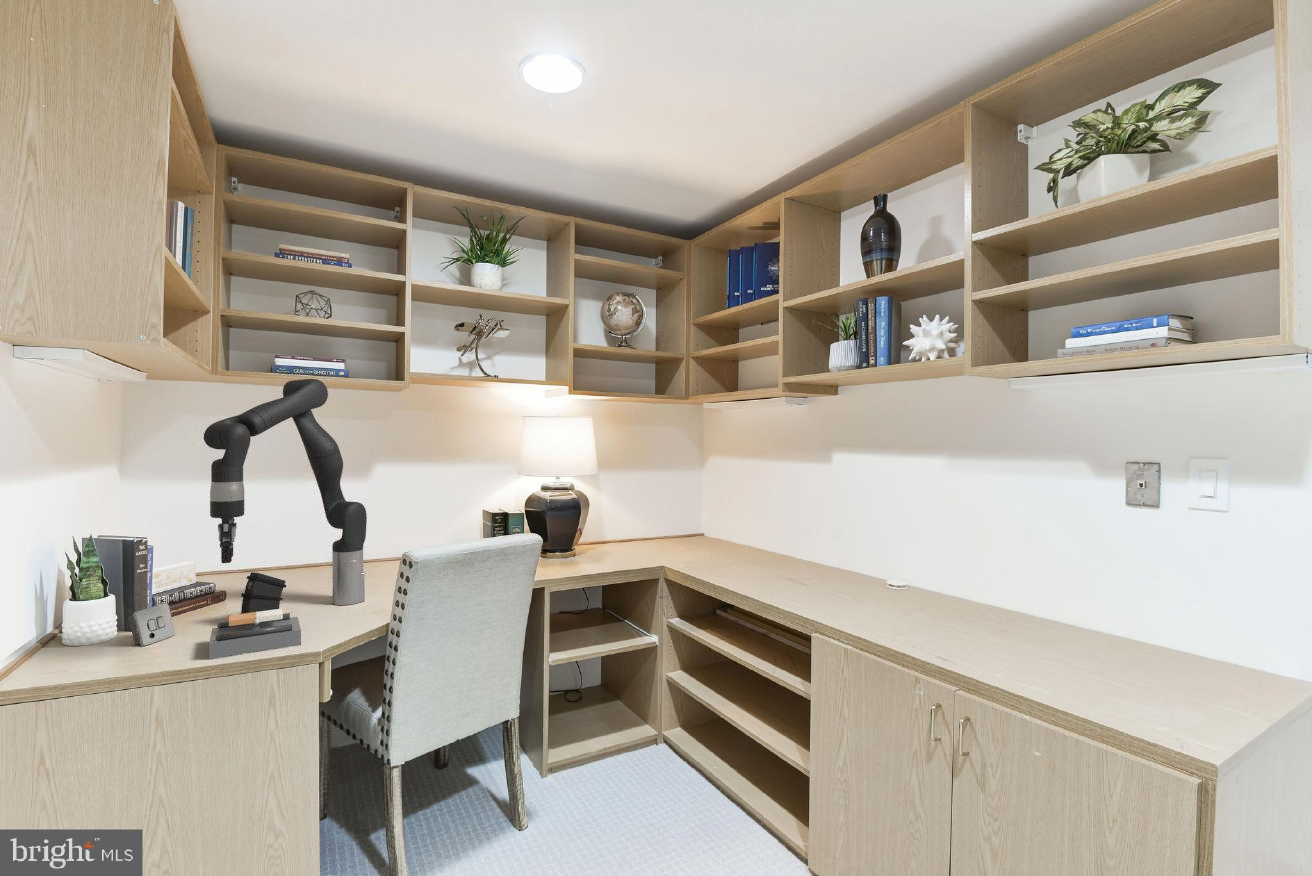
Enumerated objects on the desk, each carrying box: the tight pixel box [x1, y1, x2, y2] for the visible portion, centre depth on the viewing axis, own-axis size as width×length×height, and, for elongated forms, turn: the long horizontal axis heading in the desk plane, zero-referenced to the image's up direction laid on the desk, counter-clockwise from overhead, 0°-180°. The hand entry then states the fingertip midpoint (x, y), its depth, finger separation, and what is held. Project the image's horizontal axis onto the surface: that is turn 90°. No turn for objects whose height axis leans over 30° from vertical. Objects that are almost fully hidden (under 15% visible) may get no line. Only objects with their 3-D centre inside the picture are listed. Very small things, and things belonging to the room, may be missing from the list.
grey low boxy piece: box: [208, 612, 302, 660], centre depth 171 cm, size 20×14×6 cm
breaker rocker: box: [228, 608, 284, 626], centre depth 170 cm, size 12×6×2 cm, turn 122°
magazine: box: [240, 571, 287, 614], centre depth 190 cm, size 4×13×15 cm, turn 164°
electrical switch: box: [127, 603, 177, 647], centre depth 173 cm, size 9×5×9 cm, turn 169°
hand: (227, 560), depth 168 cm, fingers open, 8 cm apart
